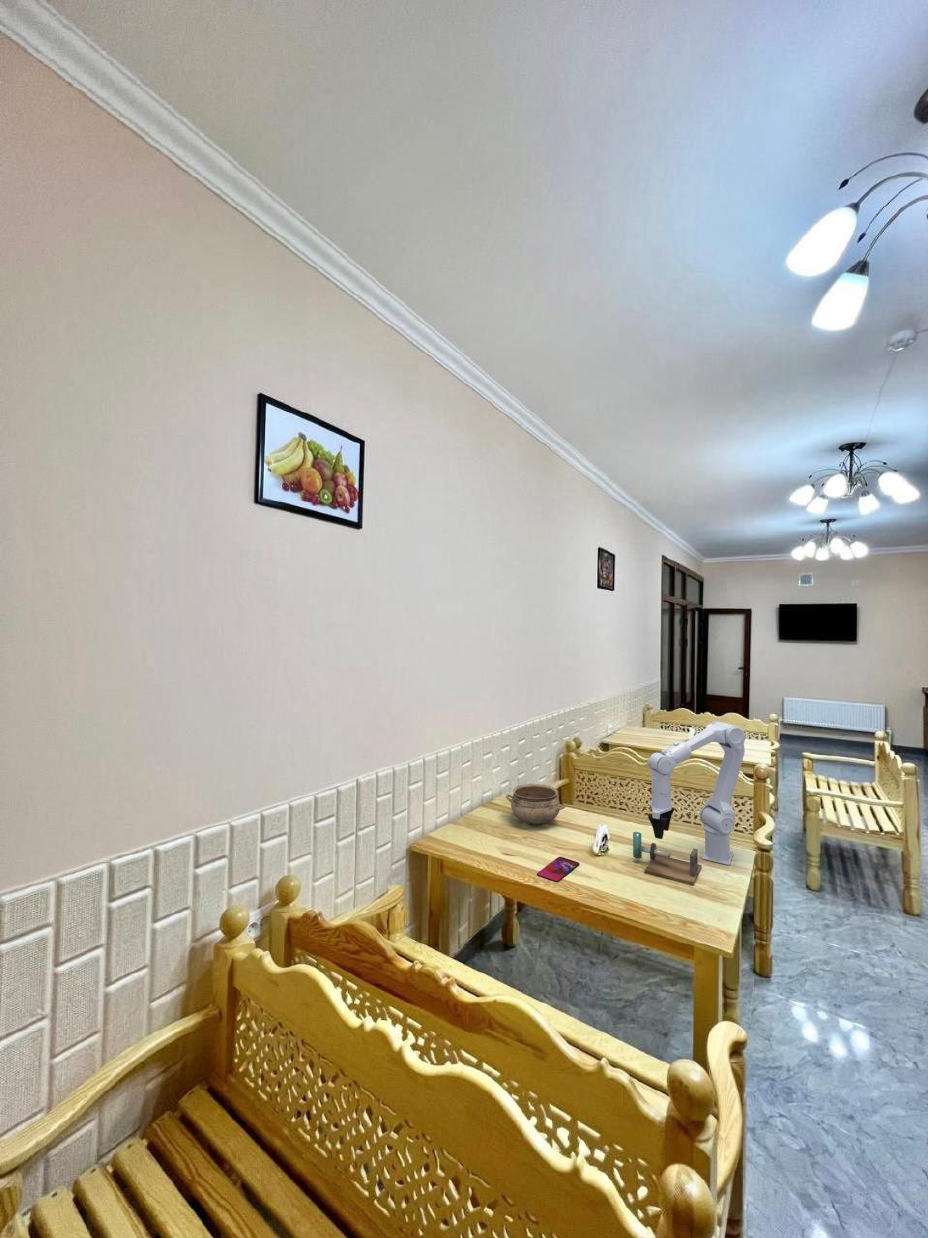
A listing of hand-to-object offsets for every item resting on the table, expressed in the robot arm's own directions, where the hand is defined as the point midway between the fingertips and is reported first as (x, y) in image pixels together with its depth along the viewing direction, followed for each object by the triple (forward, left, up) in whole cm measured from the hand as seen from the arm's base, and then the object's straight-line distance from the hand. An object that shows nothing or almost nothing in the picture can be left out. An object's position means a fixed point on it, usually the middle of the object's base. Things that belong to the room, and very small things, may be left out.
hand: (661, 834), depth 162 cm
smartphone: (+22, -26, -10) cm, 35 cm away
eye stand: (+3, +4, -9) cm, 11 cm away
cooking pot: (-8, -49, -10) cm, 51 cm away
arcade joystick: (+3, -3, -8) cm, 9 cm away
